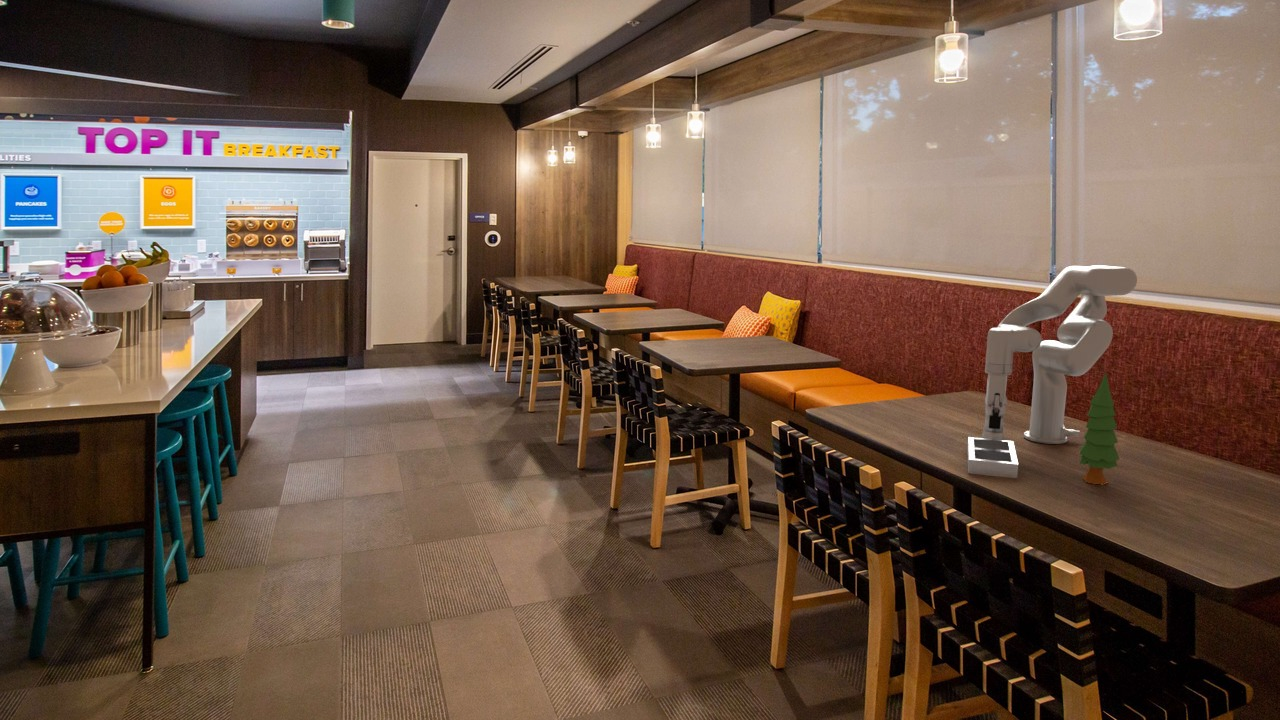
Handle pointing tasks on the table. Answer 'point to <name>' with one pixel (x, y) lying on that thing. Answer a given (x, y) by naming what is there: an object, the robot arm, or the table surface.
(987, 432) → the plastic bottle
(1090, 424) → the decorative tree
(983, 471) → the white flat box
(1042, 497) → the table surface
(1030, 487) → the table surface
